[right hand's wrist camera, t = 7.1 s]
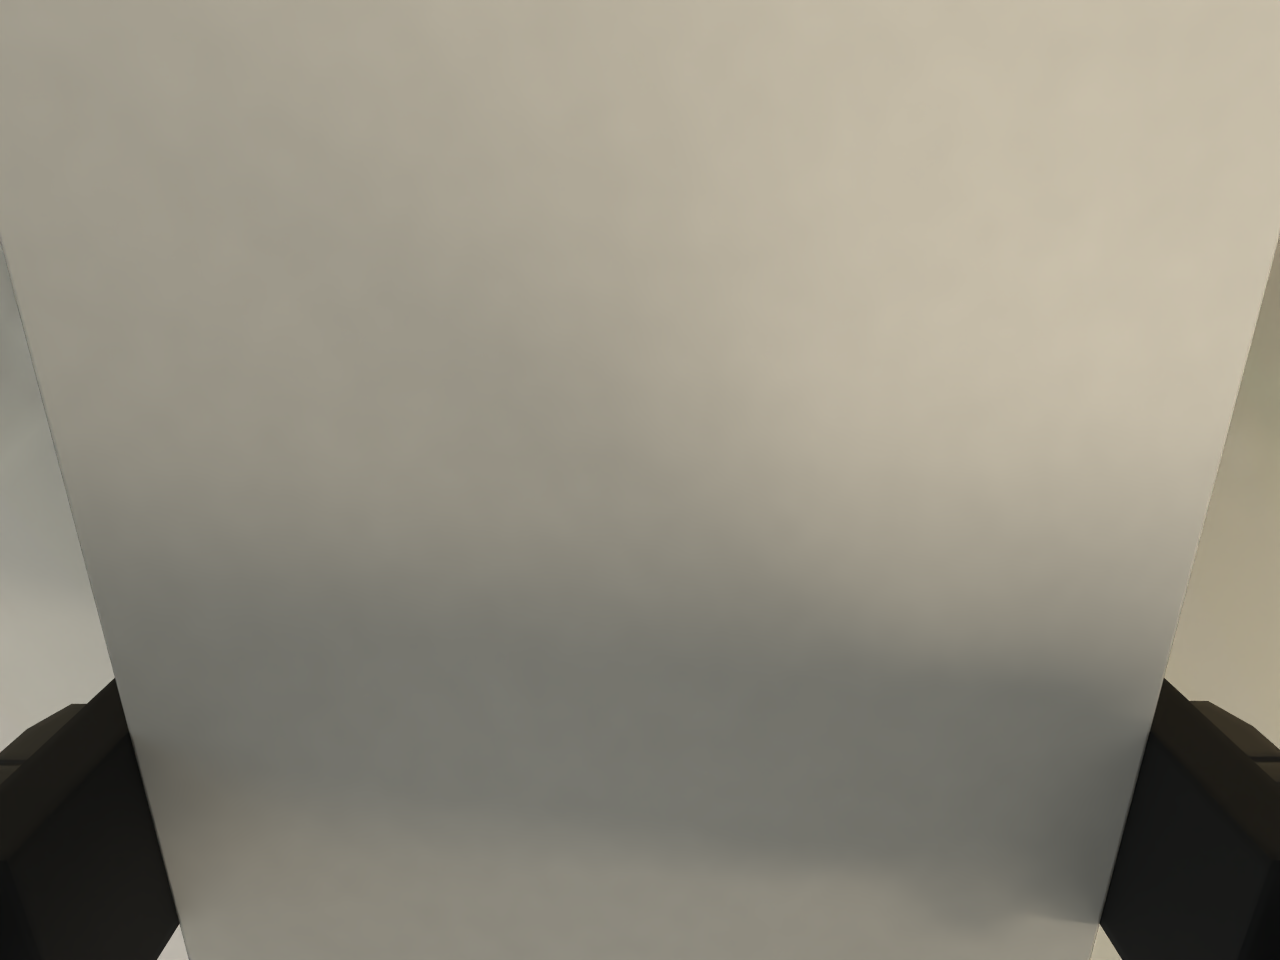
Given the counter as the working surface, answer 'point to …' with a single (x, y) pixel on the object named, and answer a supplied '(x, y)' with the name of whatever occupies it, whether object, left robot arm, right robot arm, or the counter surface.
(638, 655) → the cabinet
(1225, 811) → the right robot arm
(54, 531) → the counter surface
